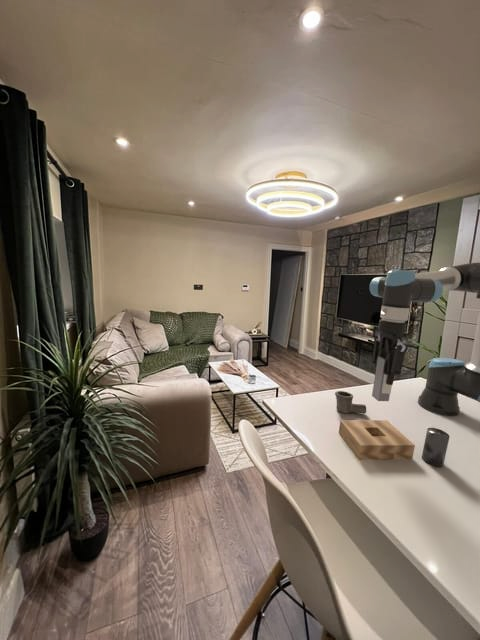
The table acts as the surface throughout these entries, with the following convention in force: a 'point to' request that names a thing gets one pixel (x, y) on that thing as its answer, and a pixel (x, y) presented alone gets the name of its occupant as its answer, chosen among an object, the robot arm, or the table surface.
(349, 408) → the pipe
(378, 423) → the block
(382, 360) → the square bit
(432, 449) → the round bit
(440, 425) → the table surface
